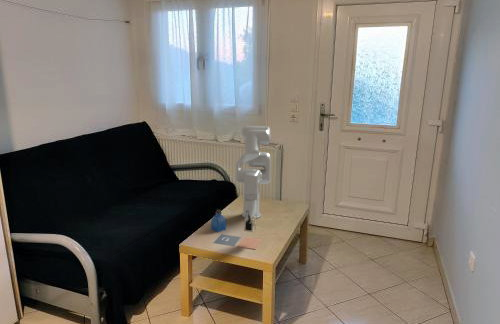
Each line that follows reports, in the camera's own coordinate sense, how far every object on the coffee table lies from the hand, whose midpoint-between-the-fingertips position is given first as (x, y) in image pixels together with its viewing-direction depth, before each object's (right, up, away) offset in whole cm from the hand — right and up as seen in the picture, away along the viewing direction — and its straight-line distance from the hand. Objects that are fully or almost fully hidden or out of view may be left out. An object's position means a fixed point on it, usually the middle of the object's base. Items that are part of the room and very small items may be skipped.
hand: (250, 227), depth 193 cm
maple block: (0, -1, 0) cm, 1 cm away
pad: (0, -9, +2) cm, 10 cm away
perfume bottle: (-19, -5, +20) cm, 28 cm away
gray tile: (-13, -8, +6) cm, 16 cm away
